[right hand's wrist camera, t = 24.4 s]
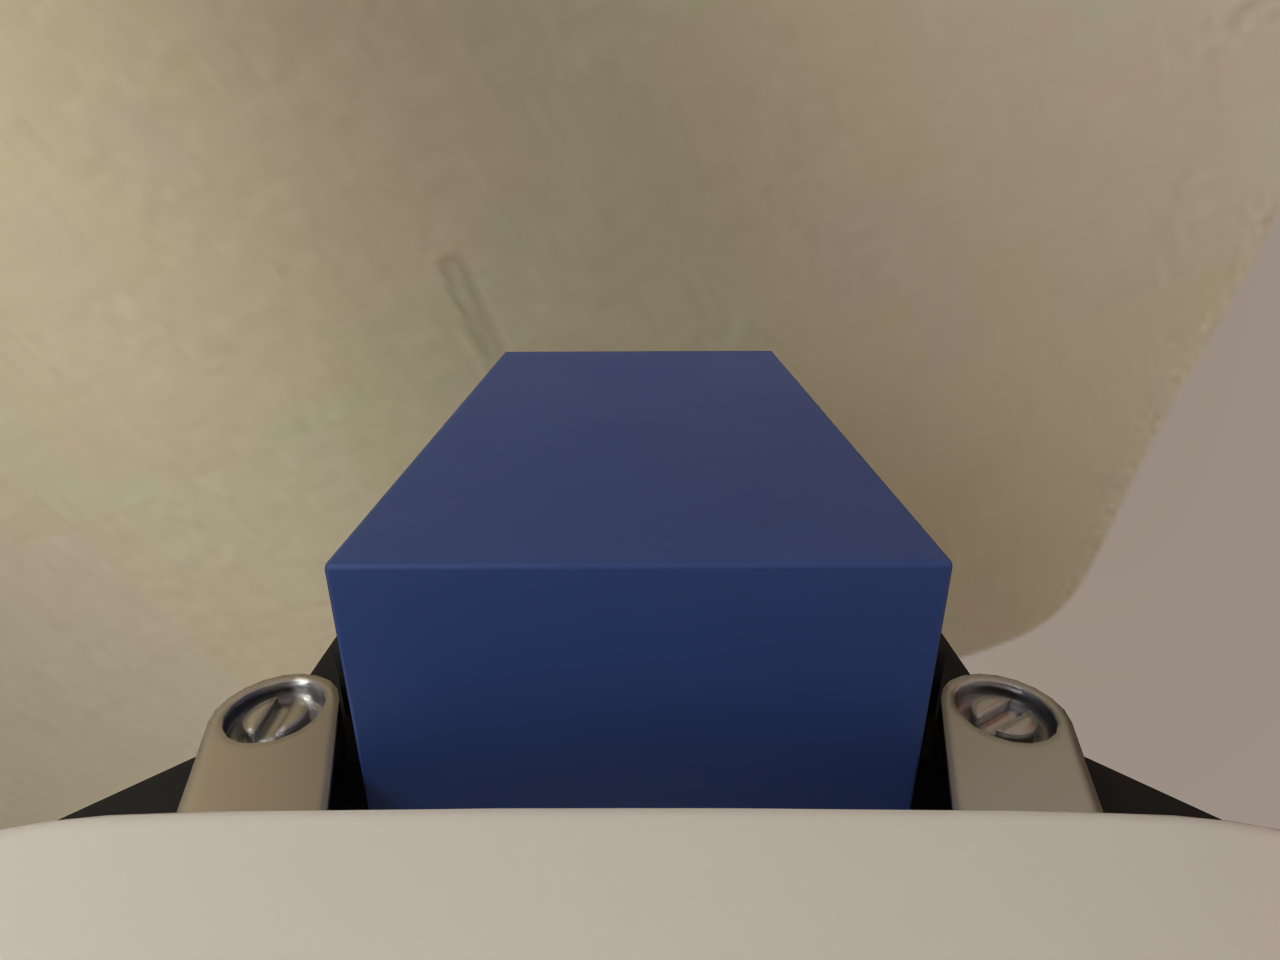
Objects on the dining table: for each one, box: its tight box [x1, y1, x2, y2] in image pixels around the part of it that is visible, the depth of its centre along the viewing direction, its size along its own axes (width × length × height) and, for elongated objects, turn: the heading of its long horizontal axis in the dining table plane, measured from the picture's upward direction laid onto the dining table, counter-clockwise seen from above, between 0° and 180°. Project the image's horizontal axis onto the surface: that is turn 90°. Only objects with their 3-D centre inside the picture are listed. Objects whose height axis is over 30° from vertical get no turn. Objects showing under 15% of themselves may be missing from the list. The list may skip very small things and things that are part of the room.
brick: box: [325, 351, 952, 810], centre depth 11 cm, size 5×7×9 cm
